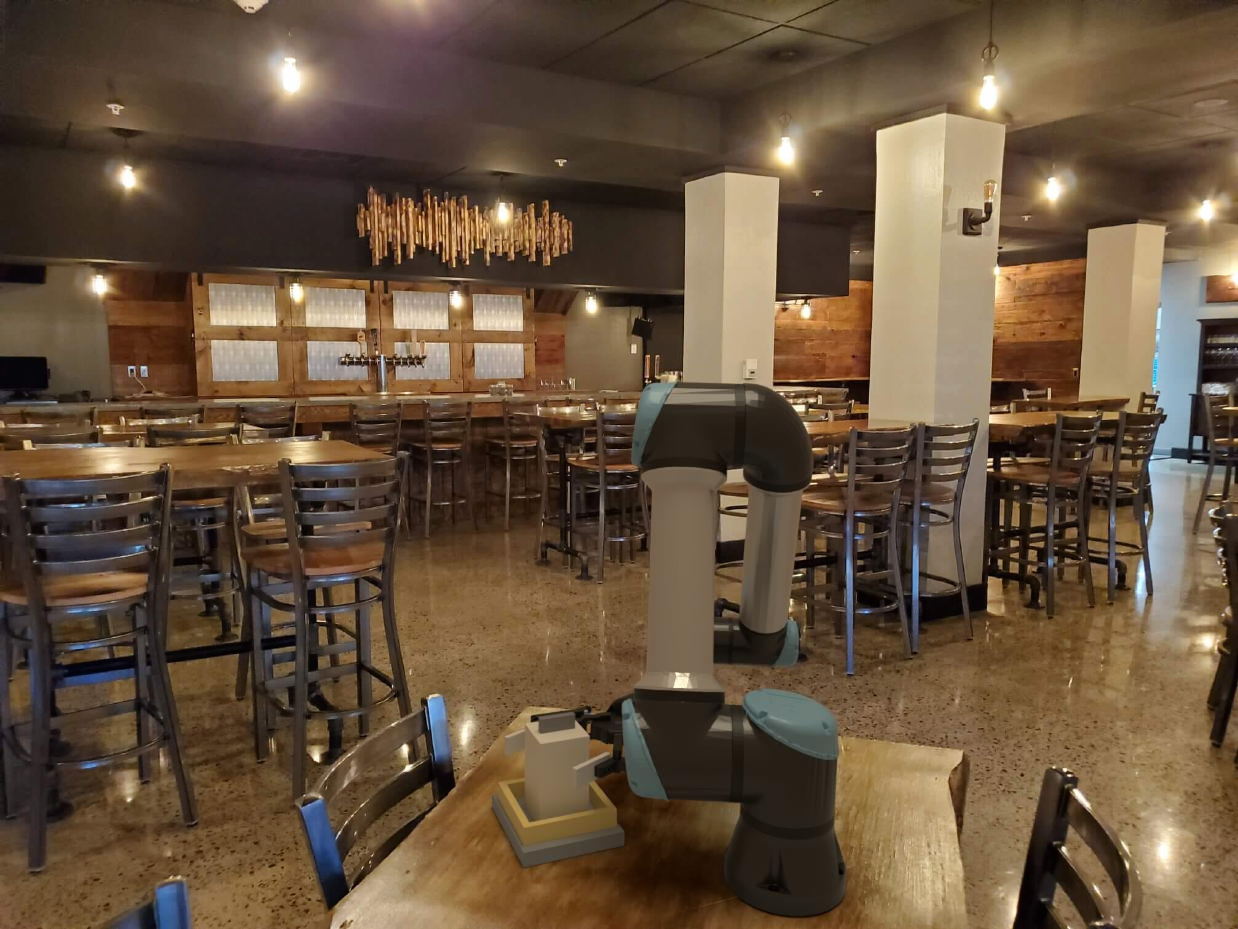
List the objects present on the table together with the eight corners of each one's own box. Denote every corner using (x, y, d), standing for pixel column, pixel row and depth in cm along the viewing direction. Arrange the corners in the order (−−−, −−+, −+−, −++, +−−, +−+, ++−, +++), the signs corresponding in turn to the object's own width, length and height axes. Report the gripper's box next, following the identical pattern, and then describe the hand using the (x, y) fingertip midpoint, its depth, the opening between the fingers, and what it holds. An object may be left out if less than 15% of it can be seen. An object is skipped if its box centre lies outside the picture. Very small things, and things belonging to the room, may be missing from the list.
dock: (624, 845, 114) (624, 814, 113) (523, 867, 108) (523, 834, 108) (582, 790, 129) (583, 762, 128) (492, 807, 123) (492, 778, 123)
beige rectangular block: (588, 819, 117) (589, 721, 115) (539, 829, 114) (540, 729, 112) (571, 795, 123) (572, 702, 121) (524, 804, 120) (525, 709, 119)
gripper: (705, 765, 123) (605, 822, 107) (582, 716, 139) (480, 759, 124) (707, 716, 122) (606, 765, 106) (583, 672, 138) (480, 709, 123)
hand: (538, 762), depth 115 cm, fingers open, 13 cm apart
